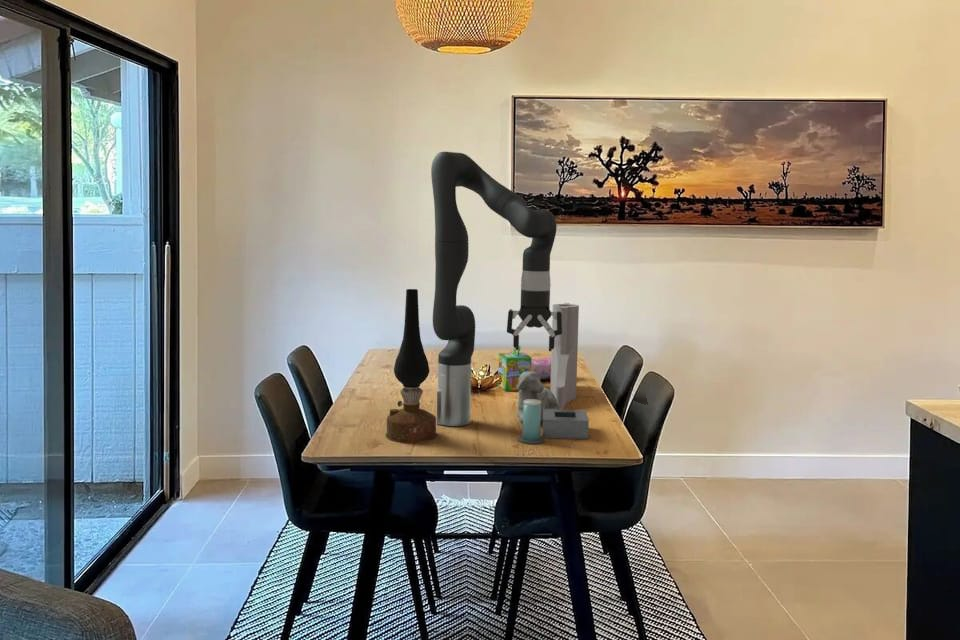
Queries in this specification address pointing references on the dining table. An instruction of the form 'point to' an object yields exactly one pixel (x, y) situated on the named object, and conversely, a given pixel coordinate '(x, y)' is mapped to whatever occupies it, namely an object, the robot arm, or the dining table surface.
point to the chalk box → (512, 368)
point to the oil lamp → (411, 383)
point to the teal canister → (531, 419)
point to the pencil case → (542, 367)
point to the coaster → (531, 441)
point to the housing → (565, 424)
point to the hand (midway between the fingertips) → (533, 350)
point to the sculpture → (534, 393)
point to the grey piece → (565, 355)
